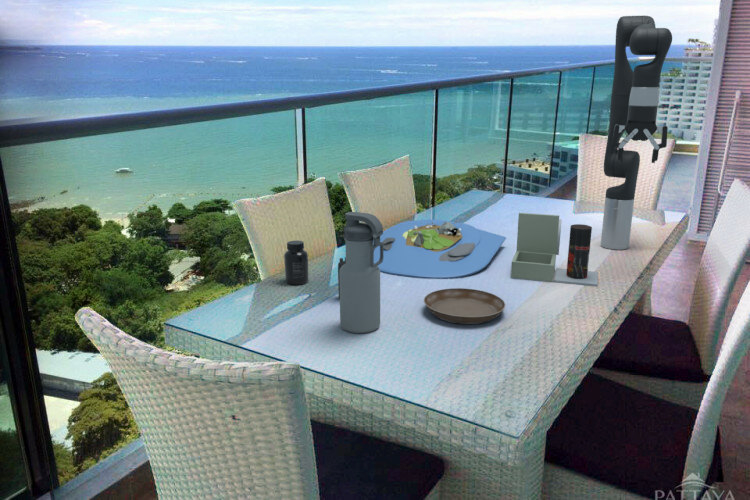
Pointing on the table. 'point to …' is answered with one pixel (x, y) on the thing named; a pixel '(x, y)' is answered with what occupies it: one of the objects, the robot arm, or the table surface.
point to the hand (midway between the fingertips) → (636, 162)
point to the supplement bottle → (296, 263)
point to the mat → (563, 278)
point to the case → (536, 247)
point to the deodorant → (579, 251)
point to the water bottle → (360, 274)
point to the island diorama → (436, 249)
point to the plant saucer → (464, 305)
